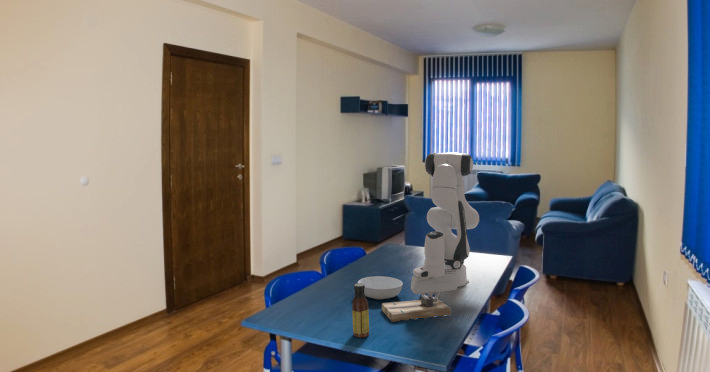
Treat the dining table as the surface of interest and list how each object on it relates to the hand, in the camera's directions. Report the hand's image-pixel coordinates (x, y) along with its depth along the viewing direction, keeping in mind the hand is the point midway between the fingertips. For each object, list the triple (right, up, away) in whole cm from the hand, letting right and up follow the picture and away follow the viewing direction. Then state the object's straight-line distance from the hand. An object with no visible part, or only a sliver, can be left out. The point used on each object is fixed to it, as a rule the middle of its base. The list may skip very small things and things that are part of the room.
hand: (433, 301), depth 222 cm
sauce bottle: (-32, -7, -25) cm, 41 cm away
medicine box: (+1, -2, +22) cm, 22 cm away
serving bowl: (-22, -2, +21) cm, 30 cm away
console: (-8, -4, -1) cm, 9 cm away
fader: (-3, -1, -1) cm, 3 cm away
